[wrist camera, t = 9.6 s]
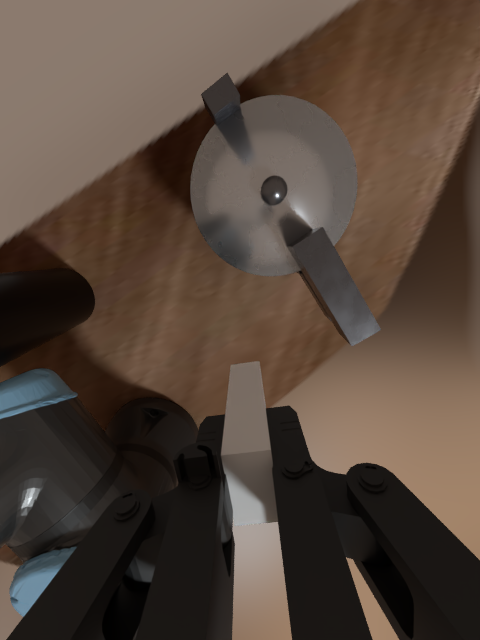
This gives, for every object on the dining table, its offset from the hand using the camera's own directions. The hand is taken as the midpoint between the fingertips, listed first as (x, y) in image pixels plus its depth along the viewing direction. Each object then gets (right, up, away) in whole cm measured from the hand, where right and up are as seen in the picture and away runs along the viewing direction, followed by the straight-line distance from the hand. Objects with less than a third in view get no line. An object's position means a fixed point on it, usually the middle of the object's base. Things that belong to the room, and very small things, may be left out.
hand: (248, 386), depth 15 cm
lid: (+5, +13, +14) cm, 20 cm away
